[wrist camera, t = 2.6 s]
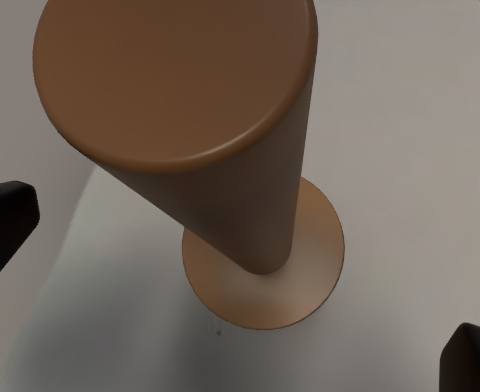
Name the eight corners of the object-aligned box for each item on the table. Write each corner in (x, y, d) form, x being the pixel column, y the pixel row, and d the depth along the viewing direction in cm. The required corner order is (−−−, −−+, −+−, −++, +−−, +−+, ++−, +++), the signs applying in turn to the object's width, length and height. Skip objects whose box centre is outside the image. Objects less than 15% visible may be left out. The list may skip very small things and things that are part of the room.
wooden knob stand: (288, 353, 16) (315, 813, 2) (172, 274, 18) (-347, 163, 3) (360, 231, 17) (765, -127, 3) (245, 164, 18) (102, -312, 4)
